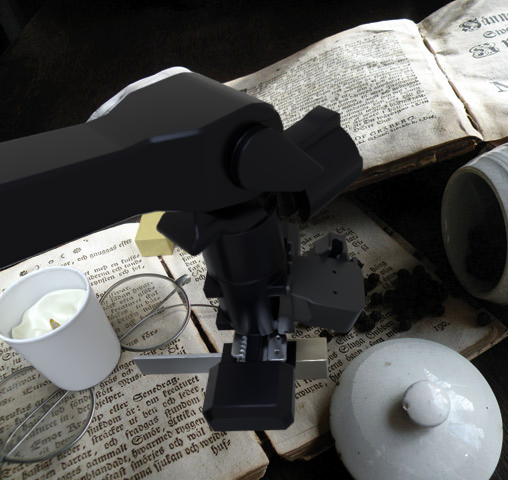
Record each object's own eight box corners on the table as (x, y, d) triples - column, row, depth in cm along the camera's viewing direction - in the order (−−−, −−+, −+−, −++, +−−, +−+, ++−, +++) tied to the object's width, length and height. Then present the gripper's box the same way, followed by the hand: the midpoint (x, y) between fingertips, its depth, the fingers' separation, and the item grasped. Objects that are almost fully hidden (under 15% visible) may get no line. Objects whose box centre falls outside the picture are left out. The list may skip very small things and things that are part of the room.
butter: (142, 257, 69) (134, 240, 67) (153, 215, 76) (147, 198, 73) (172, 254, 69) (165, 238, 67) (181, 213, 76) (175, 196, 73)
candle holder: (29, 397, 55) (-31, 341, 46) (64, 326, 61) (17, 265, 53) (112, 398, 54) (66, 341, 45) (138, 326, 61) (102, 264, 52)
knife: (327, 356, 46) (326, 337, 44) (328, 379, 45) (326, 360, 42) (146, 362, 47) (134, 343, 44) (140, 384, 45) (127, 366, 43)
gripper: (368, 368, 27) (364, 465, 38) (352, 167, 40) (352, 284, 51) (174, 374, 27) (226, 468, 38) (220, 173, 40) (250, 287, 51)
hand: (272, 364), depth 45 cm, fingers closed on knife, 2 cm apart
